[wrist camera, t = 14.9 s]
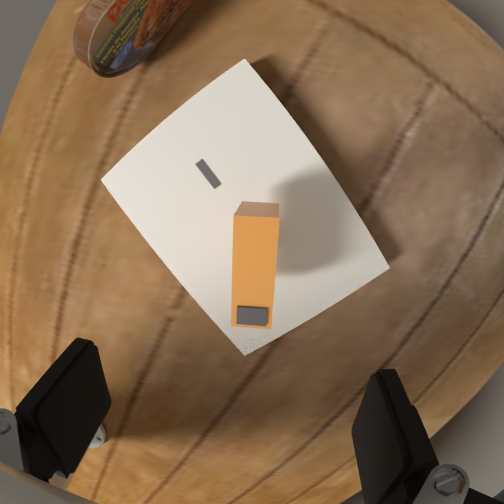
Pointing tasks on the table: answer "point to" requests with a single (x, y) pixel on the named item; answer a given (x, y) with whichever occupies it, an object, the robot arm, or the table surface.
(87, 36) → the tin
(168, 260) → the base plate
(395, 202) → the table surface
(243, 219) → the orange block on post
